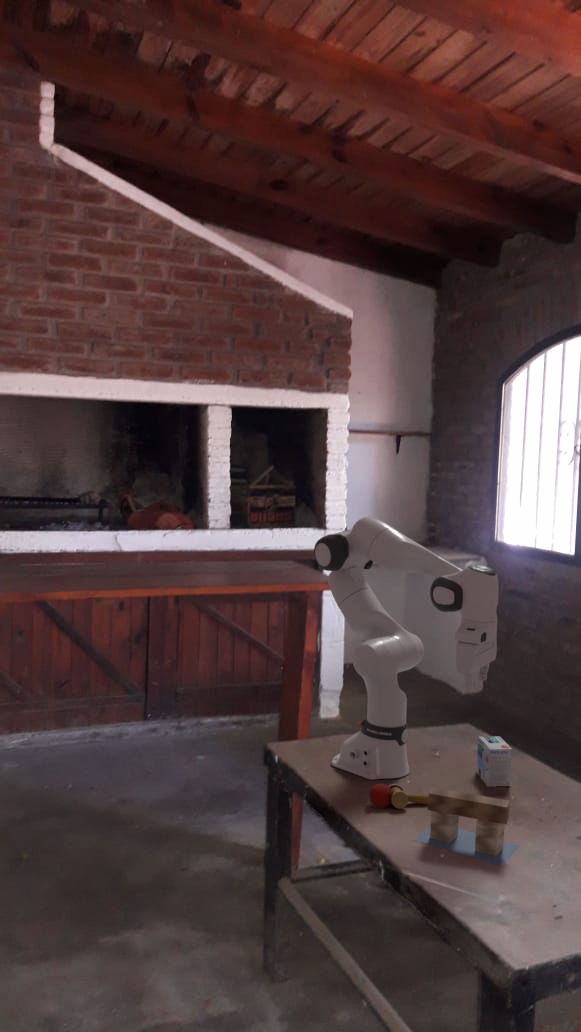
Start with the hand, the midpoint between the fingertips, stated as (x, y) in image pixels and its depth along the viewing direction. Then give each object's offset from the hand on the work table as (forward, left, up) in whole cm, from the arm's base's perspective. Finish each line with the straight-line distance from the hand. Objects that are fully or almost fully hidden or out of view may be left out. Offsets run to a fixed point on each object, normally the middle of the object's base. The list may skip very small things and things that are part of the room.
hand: (476, 683), depth 211 cm
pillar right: (+11, -19, -32) cm, 39 cm away
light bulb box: (-2, +24, -33) cm, 41 cm away
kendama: (-15, -7, -34) cm, 38 cm away
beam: (+6, -19, -26) cm, 32 cm away
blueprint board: (+6, -19, -33) cm, 39 cm away
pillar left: (0, -19, -32) cm, 38 cm away
